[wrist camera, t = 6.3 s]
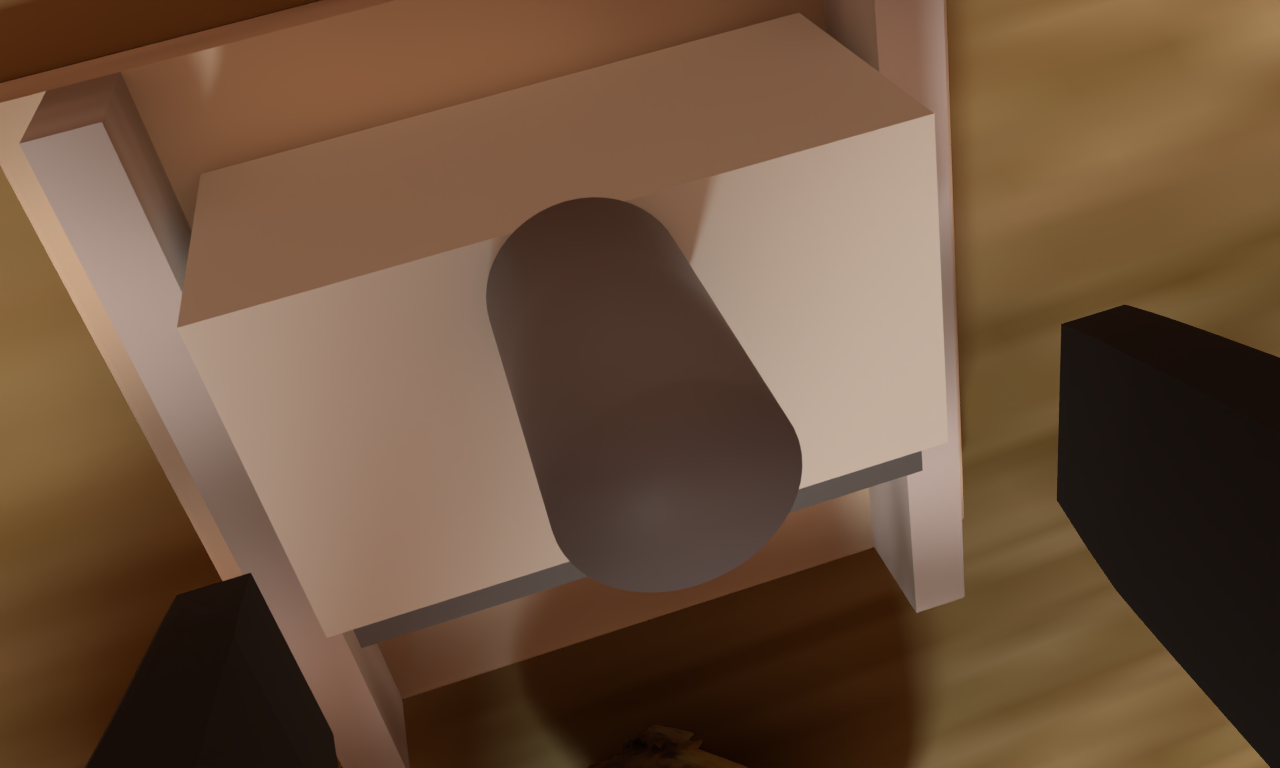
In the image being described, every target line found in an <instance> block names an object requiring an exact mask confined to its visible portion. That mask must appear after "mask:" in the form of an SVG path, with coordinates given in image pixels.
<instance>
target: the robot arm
mask: <svg viewBox="0 0 1280 768" xmlns="http://www.w3.org/2000/svg"><path fill="white" fill-rule="evenodd" d="M1057 501H1058V502H1059V504H1060V506H1061V507H1062V509H1063V510H1064V512H1065V514H1066V515H1067V517H1068V518H1069V520H1070V521H1071V523H1072V525H1073V526H1074V528H1075V529H1076V531H1077V532H1078V534H1079V536H1080V537H1081V539H1082V540H1083V542H1084V543H1085V545H1086V547H1087V548H1088V550H1089V551H1090V553H1091V554H1092V556H1093V557H1094V558H1095V560H1096V561H1097V563H1098V564H1099V566H1100V567H1101V569H1102V570H1103V572H1104V573H1105V575H1106V576H1107V577H1108V579H1109V580H1110V582H1111V583H1112V585H1113V586H1114V588H1115V589H1116V591H1117V592H1118V593H1119V594H1120V595H1121V597H1122V598H1123V599H1124V600H1125V601H1126V602H1127V604H1128V605H1129V606H1130V607H1131V608H1132V610H1133V611H1134V612H1135V613H1136V614H1137V615H1138V617H1139V618H1140V619H1141V620H1142V621H1143V622H1144V624H1145V625H1146V626H1147V627H1148V628H1149V629H1150V631H1151V632H1152V633H1153V634H1154V635H1155V636H1156V637H1157V639H1158V640H1159V641H1160V642H1161V643H1162V644H1163V646H1164V647H1165V648H1166V649H1167V650H1168V651H1169V653H1170V654H1171V655H1172V656H1173V657H1174V658H1175V660H1176V661H1177V662H1178V663H1179V664H1180V665H1181V666H1182V667H1183V669H1184V670H1185V671H1186V672H1187V673H1188V674H1189V675H1190V677H1191V678H1192V679H1193V680H1194V681H1195V682H1196V683H1197V685H1198V686H1199V687H1200V688H1201V689H1202V690H1203V691H1204V692H1205V694H1206V695H1207V696H1208V697H1209V698H1210V699H1211V700H1212V702H1213V703H1214V704H1215V705H1216V706H1217V707H1218V708H1219V710H1220V711H1221V712H1222V713H1223V714H1224V715H1225V716H1226V717H1227V719H1228V720H1229V721H1230V722H1231V723H1232V724H1233V725H1234V727H1235V728H1236V729H1237V730H1238V731H1239V732H1240V733H1241V735H1242V736H1243V737H1244V738H1245V739H1246V740H1247V741H1248V743H1249V744H1250V745H1251V746H1252V747H1253V748H1254V749H1255V750H1256V752H1257V753H1258V754H1259V755H1260V756H1261V757H1262V758H1263V760H1264V761H1265V762H1266V763H1267V764H1268V765H1269V766H1270V768H1280V358H1279V357H1276V356H1273V355H1271V354H1268V353H1265V352H1263V351H1260V350H1257V349H1254V348H1252V347H1249V346H1246V345H1243V344H1241V343H1238V342H1235V341H1232V340H1230V339H1227V338H1224V337H1221V336H1219V335H1216V334H1213V333H1210V332H1207V331H1205V330H1202V329H1199V328H1196V327H1193V326H1190V325H1188V324H1185V323H1182V322H1179V321H1176V320H1173V319H1170V318H1167V317H1164V316H1161V315H1158V314H1155V313H1152V312H1149V311H1145V310H1142V309H1138V308H1135V307H1132V306H1128V305H1122V306H1119V307H1116V308H1112V309H1109V310H1106V311H1103V312H1099V313H1096V314H1093V315H1090V316H1086V317H1083V318H1080V319H1077V320H1073V321H1070V322H1067V323H1063V324H1061V362H1060V400H1059V438H1058V476H1057ZM85 768H338V763H337V756H336V749H335V742H334V735H333V732H332V730H331V728H330V726H329V724H328V722H327V720H326V718H325V717H324V715H323V713H322V711H321V709H320V707H319V705H318V703H317V701H316V699H315V697H314V695H313V693H312V691H311V689H310V687H309V685H308V683H307V681H306V679H305V677H304V675H303V674H302V672H301V670H300V668H299V666H298V664H297V662H296V660H295V658H294V656H293V654H292V652H291V650H290V648H289V646H288V644H287V642H286V640H285V638H284V636H283V634H282V632H281V631H280V629H279V627H278V625H277V623H276V621H275V619H274V617H273V615H272V613H271V611H270V609H269V607H268V605H267V603H266V601H265V599H264V597H263V595H262V593H261V591H260V589H259V587H258V586H257V584H256V582H255V580H254V578H253V576H252V574H251V573H248V574H245V575H241V576H238V577H235V578H232V579H228V580H225V581H222V582H219V583H215V584H212V585H209V586H206V587H202V588H199V589H196V590H193V591H189V592H186V593H183V594H180V595H177V596H176V598H175V600H174V601H173V603H172V605H171V606H170V608H169V610H168V612H167V614H166V615H165V617H164V619H163V621H162V623H161V625H160V626H159V628H158V630H157V632H156V634H155V636H154V638H153V640H152V642H151V644H150V645H149V647H148V649H147V651H146V653H145V655H144V657H143V659H142V661H141V663H140V665H139V667H138V669H137V671H136V672H135V674H134V676H133V678H132V680H131V682H130V684H129V686H128V688H127V690H126V692H125V694H124V696H123V698H122V699H121V701H120V703H119V705H118V707H117V709H116V711H115V713H114V715H113V717H112V718H111V720H110V722H109V724H108V726H107V728H106V730H105V732H104V734H103V736H102V737H101V739H100V741H99V743H98V745H97V747H96V749H95V750H94V752H93V754H92V756H91V758H90V759H89V761H88V763H87V765H86V767H85Z"/></svg>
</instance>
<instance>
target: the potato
mask: <svg viewBox="0 0 1280 768" xmlns="http://www.w3.org/2000/svg"><path fill="white" fill-rule="evenodd" d="M646 730H647V731H646V732H643V733H641V734H639V735H636V736H632V737H629V738H628V739H627V740H626V741H625V742H624V744H623V749H627V752H626V753H625V754H624V755H615V756H613V757H611V758H609V759H607V760H605V761H603V762H600V763H597V764H593V765H590V766H589V767H588V768H748V767H746V766H744V765H741V764H739V763H736V762H733V761H731V760H728V759H725V758H722V757H719V756H717V755H714V754H711V753H708V752H705V751H702V750H700V749H698V748H699V746H700V745H701V743H702V742H703V740H699V741H691V740H690V738H691V737H692V736H693V735H694V733H692V732H689V731H685V730H681V729H677V728H673V727H668V726H662V725H653V726H651V727H649V728H648V729H646Z"/></svg>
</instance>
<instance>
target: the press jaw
mask: <svg viewBox="0 0 1280 768" xmlns="http://www.w3.org/2000/svg"><path fill="white" fill-rule="evenodd" d="M177 329H178V331H179V333H180V335H181V337H182V339H183V341H184V343H185V346H186V348H187V350H188V352H189V354H190V356H191V358H192V360H193V362H194V364H195V366H196V368H197V370H198V372H199V375H200V377H201V379H202V381H203V383H204V385H205V387H206V389H207V391H208V393H209V395H210V397H211V399H212V401H213V404H214V406H215V408H216V410H217V412H218V414H219V416H220V418H221V420H222V422H223V424H224V426H225V428H226V430H227V433H228V435H229V437H230V439H231V441H232V443H233V445H234V447H235V449H236V451H237V453H238V455H239V457H240V459H241V462H242V464H243V466H244V468H245V470H246V472H247V474H248V476H249V478H250V480H251V482H252V484H253V486H254V488H255V491H256V493H257V495H258V497H259V499H260V501H261V503H262V505H263V507H264V509H265V511H266V513H267V515H268V517H269V520H270V522H271V524H272V526H273V528H274V530H275V532H276V534H277V536H278V538H279V540H280V542H281V544H282V546H283V548H284V551H285V553H286V555H287V557H288V559H289V561H290V563H291V565H292V567H293V569H294V571H295V573H296V575H297V577H298V580H299V582H300V584H301V586H302V588H303V590H304V592H305V594H306V596H307V598H308V600H309V602H310V604H311V606H312V609H313V611H314V613H315V615H316V617H317V619H318V621H319V623H320V625H321V627H322V629H323V631H324V633H325V635H326V638H328V637H331V636H334V635H338V634H341V633H344V632H347V631H350V630H353V631H354V633H355V635H356V637H357V639H358V642H359V644H360V646H361V648H364V647H367V646H370V645H373V644H376V643H380V642H383V641H386V640H389V639H392V638H395V637H399V636H402V635H405V634H408V633H411V632H414V631H418V630H421V629H424V628H427V627H430V626H433V625H437V624H440V623H443V622H446V621H449V620H452V619H455V618H459V617H462V616H465V615H468V614H471V613H474V612H478V611H481V610H484V609H487V608H490V607H493V606H497V605H500V604H503V603H506V602H509V601H512V600H515V599H519V598H522V597H525V596H528V595H531V594H534V593H538V592H541V591H544V590H547V589H550V588H553V587H557V586H560V585H563V584H566V583H569V582H572V581H575V580H579V579H582V578H585V577H590V578H592V579H593V580H595V581H598V582H600V583H602V584H605V585H607V586H610V587H614V588H617V589H621V590H627V591H633V592H649V593H653V592H668V591H674V590H680V589H685V588H688V587H692V586H696V585H699V584H702V583H705V582H707V581H710V580H713V579H715V578H717V577H719V576H721V575H723V574H725V573H727V572H729V571H731V570H732V569H734V568H736V567H737V566H739V565H741V564H742V563H743V562H745V561H746V560H747V559H749V558H750V557H752V556H753V555H754V554H755V553H756V552H758V551H759V550H760V549H761V548H762V547H763V546H764V545H765V544H766V543H767V542H768V541H769V540H770V539H771V538H772V537H773V535H774V534H775V533H776V532H777V531H778V529H779V528H780V526H781V525H782V524H783V522H784V521H785V519H786V517H787V516H788V514H789V513H790V512H793V511H797V510H800V509H803V508H806V507H809V506H812V505H816V504H819V503H822V502H825V501H828V500H831V499H835V498H838V497H841V496H844V495H847V494H850V493H853V492H857V491H860V490H863V489H866V488H869V487H872V486H876V485H879V484H882V483H885V482H888V481H891V480H895V479H898V478H901V477H904V476H907V475H910V474H913V473H917V472H920V471H923V467H922V450H925V449H929V448H932V447H935V446H938V445H941V444H945V443H948V425H947V402H946V378H945V354H944V330H943V306H942V282H941V258H940V234H939V211H938V187H937V163H936V139H935V115H934V113H933V112H932V111H931V110H929V109H928V108H926V107H925V106H924V105H922V104H921V103H920V102H918V101H917V100H916V99H914V98H913V97H912V96H910V95H909V94H908V93H906V92H905V91H904V90H902V89H901V88H900V87H898V86H897V85H896V84H894V83H893V82H892V81H890V80H889V79H888V78H886V77H885V76H884V75H882V74H881V73H880V72H878V71H877V70H875V69H874V68H873V67H871V66H870V65H869V64H867V63H866V62H865V61H863V60H862V59H861V58H859V57H858V56H857V55H855V54H854V53H853V52H851V51H850V50H849V49H847V48H846V47H845V46H843V45H842V44H841V43H839V42H838V41H837V40H835V39H834V38H833V37H831V36H830V35H829V34H827V33H826V32H824V31H823V30H822V29H820V28H819V27H818V26H816V25H815V24H814V23H812V22H811V21H810V20H808V19H807V18H806V17H804V16H803V15H802V14H800V13H795V14H791V15H788V16H784V17H780V18H777V19H773V20H769V21H766V22H762V23H758V24H754V25H751V26H747V27H743V28H740V29H736V30H732V31H729V32H725V33H721V34H717V35H714V36H710V37H706V38H703V39H699V40H695V41H692V42H688V43H684V44H680V45H677V46H673V47H669V48H666V49H662V50H658V51H655V52H651V53H647V54H643V55H640V56H636V57H632V58H629V59H625V60H621V61H618V62H614V63H610V64H606V65H603V66H599V67H595V68H592V69H588V70H584V71H581V72H577V73H573V74H569V75H566V76H562V77H558V78H555V79H551V80H547V81H544V82H540V83H536V84H532V85H529V86H525V87H521V88H518V89H514V90H510V91H507V92H503V93H499V94H495V95H492V96H488V97H484V98H481V99H477V100H473V101H470V102H466V103H462V104H458V105H455V106H451V107H447V108H444V109H440V110H436V111H433V112H429V113H425V114H421V115H418V116H414V117H410V118H407V119H403V120H399V121H395V122H392V123H388V124H384V125H381V126H377V127H373V128H370V129H366V130H362V131H358V132H355V133H351V134H347V135H344V136H340V137H336V138H333V139H329V140H325V141H321V142H318V143H314V144H310V145H307V146H303V147H299V148H296V149H292V150H288V151H284V152H281V153H277V154H273V155H270V156H266V157H262V158H259V159H255V160H251V161H247V162H244V163H240V164H236V165H233V166H229V167H225V168H222V169H218V170H214V171H210V172H207V173H203V174H201V175H200V181H199V188H198V194H197V201H196V207H195V214H194V220H193V227H192V233H191V240H190V246H189V253H188V259H187V266H186V272H185V279H184V285H183V292H182V298H181V305H180V311H179V318H178V325H177Z"/></svg>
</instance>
